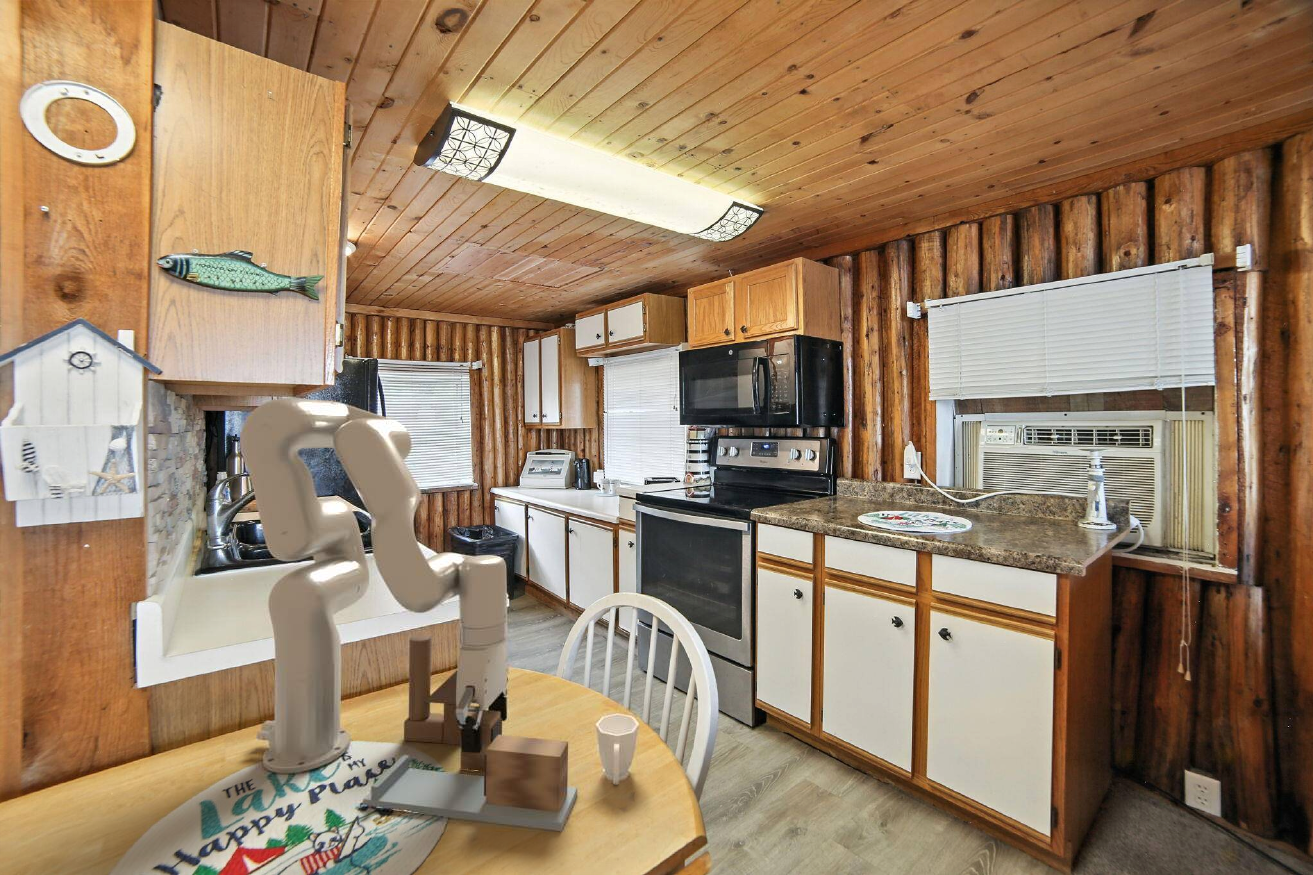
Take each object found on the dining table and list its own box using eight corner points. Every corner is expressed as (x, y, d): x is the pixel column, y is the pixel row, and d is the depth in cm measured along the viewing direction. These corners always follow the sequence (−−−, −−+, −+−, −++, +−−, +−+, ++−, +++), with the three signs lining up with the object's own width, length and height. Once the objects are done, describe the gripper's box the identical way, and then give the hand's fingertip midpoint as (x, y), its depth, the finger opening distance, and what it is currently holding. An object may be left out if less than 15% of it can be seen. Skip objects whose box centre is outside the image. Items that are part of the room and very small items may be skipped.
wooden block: (462, 745, 99) (463, 643, 99) (403, 741, 100) (404, 640, 100) (470, 734, 103) (472, 635, 103) (413, 730, 104) (414, 633, 104)
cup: (637, 760, 96) (638, 712, 96) (638, 798, 86) (639, 745, 86) (596, 760, 96) (597, 712, 96) (592, 799, 86) (593, 746, 86)
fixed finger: (483, 803, 82) (484, 748, 82) (494, 786, 86) (495, 734, 86) (558, 812, 81) (559, 756, 81) (567, 794, 85) (568, 741, 85)
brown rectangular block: (460, 769, 92) (461, 720, 92) (471, 755, 96) (472, 708, 96) (491, 772, 92) (492, 723, 92) (502, 758, 96) (502, 711, 96)
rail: (363, 806, 83) (363, 785, 83) (395, 774, 91) (395, 754, 91) (561, 831, 79) (561, 808, 79) (577, 794, 87) (577, 773, 87)
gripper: (485, 614, 103) (486, 708, 103) (435, 651, 86) (436, 763, 86) (524, 615, 102) (526, 710, 102) (482, 653, 85) (483, 767, 85)
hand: (485, 734), depth 94 cm, fingers open, 9 cm apart
